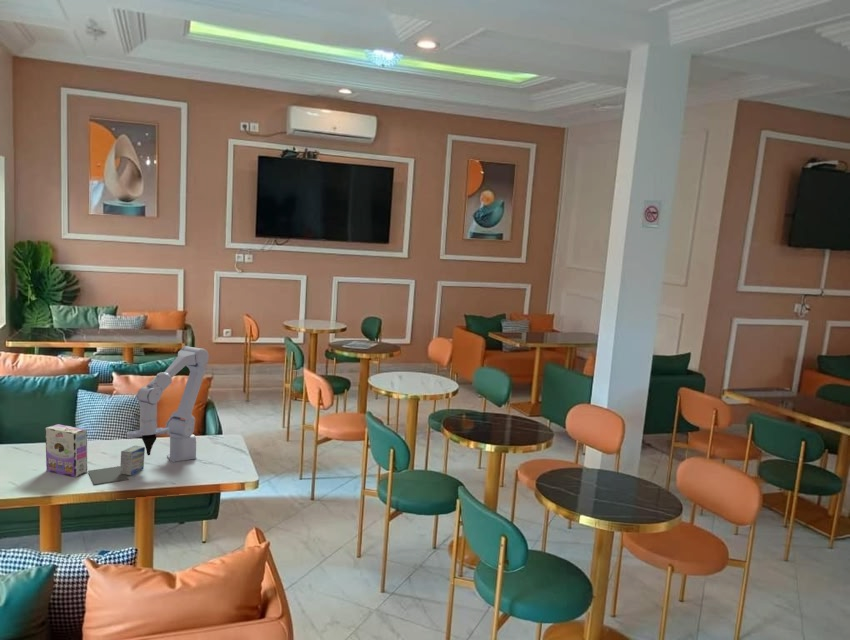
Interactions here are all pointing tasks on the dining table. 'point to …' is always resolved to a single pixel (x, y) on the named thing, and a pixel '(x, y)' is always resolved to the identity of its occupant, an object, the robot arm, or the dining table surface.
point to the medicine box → (132, 460)
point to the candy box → (66, 450)
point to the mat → (107, 475)
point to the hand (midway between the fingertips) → (148, 454)
